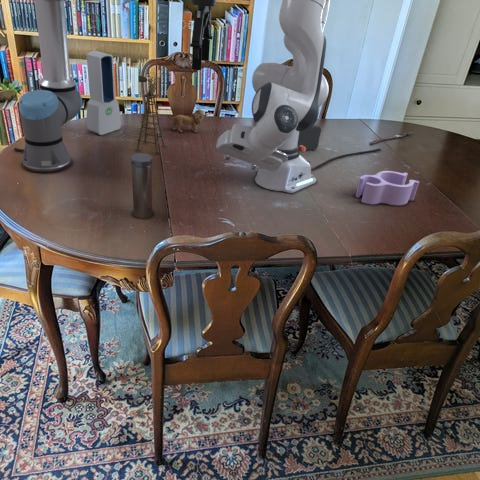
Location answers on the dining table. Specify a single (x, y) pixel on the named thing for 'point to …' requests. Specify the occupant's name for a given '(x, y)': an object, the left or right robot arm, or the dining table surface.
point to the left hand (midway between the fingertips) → (200, 65)
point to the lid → (141, 160)
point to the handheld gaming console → (310, 137)
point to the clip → (386, 188)
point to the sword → (389, 138)
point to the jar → (142, 191)
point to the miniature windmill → (150, 95)
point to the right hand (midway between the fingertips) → (239, 162)
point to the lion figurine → (189, 120)
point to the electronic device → (102, 94)
